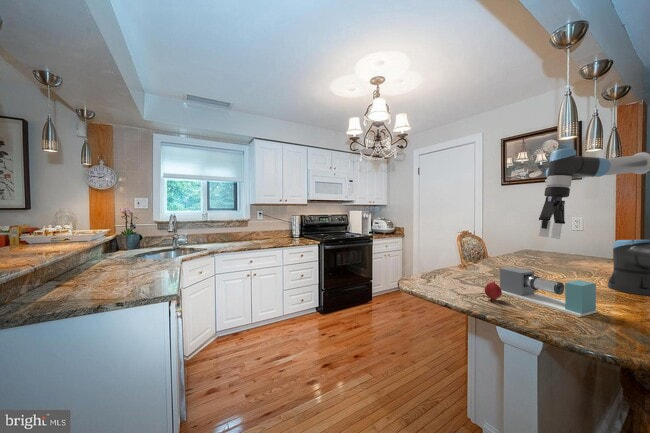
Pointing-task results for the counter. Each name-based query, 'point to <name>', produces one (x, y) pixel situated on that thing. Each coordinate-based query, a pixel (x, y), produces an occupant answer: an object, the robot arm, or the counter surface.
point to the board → (547, 302)
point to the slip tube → (543, 284)
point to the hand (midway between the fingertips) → (549, 237)
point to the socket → (580, 296)
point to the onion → (493, 290)
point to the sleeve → (515, 281)
